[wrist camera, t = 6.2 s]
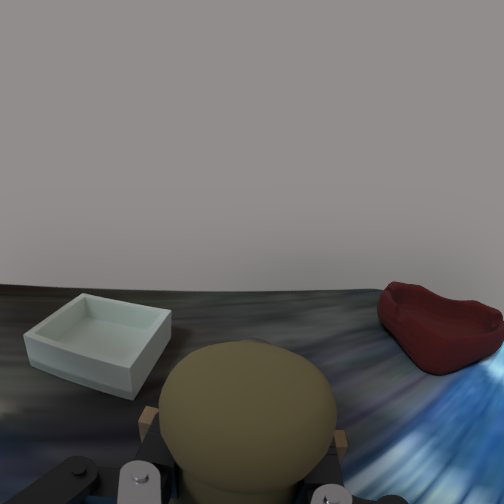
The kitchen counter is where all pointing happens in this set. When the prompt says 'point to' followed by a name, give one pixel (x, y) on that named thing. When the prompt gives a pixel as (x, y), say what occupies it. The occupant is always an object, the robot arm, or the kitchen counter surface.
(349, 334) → the kitchen counter surface
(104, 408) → the kitchen counter surface
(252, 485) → the cork
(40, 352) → the tray
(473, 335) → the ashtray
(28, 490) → the robot arm
